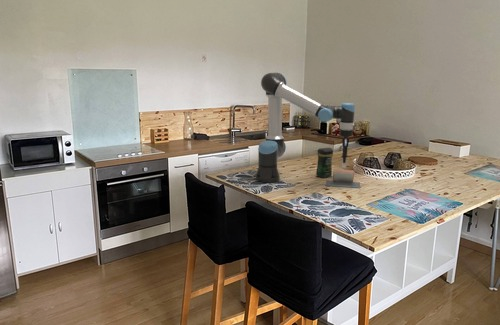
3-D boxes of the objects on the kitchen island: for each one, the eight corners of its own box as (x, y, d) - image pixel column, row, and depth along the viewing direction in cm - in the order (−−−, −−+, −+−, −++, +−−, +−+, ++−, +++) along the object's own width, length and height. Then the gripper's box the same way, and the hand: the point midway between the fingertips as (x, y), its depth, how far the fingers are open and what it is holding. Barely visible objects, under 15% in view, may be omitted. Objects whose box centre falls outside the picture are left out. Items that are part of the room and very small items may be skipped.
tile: (332, 181, 235) (333, 171, 225) (333, 178, 236) (333, 169, 226) (352, 182, 233) (354, 173, 222) (353, 179, 233) (354, 170, 223)
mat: (325, 185, 225) (325, 185, 225) (326, 180, 235) (326, 180, 235) (360, 188, 220) (360, 187, 220) (359, 183, 230) (359, 182, 230)
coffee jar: (322, 178, 239) (323, 149, 235) (314, 175, 246) (315, 147, 241) (333, 176, 244) (335, 148, 239) (325, 173, 251) (327, 146, 246)
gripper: (353, 131, 219) (350, 170, 225) (352, 127, 231) (349, 165, 237) (339, 130, 221) (337, 169, 226) (340, 127, 233) (337, 164, 239)
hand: (343, 167), depth 232 cm, fingers closed
